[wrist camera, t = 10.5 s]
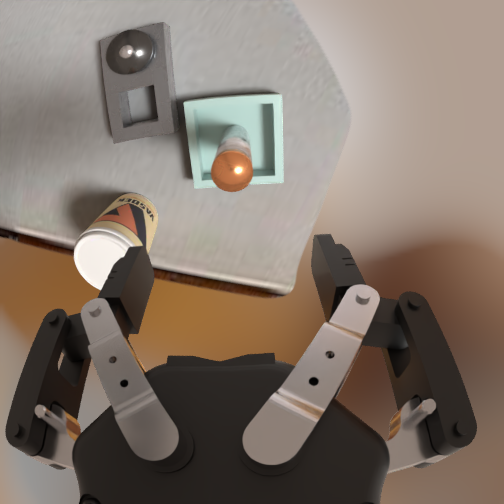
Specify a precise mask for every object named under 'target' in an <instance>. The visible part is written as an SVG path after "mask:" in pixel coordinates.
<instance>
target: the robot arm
mask: <svg viewBox="0 0 504 504" xmlns="http://www.w3.org/2000/svg"><path fill="white" fill-rule="evenodd" d="M311 267H312V274H313V277H314V280H315V284H316V287H317V291H318V294H319V297H320V301H321V304H322V308H323V311H324V314H325V318H326V322H325V323H324V324H323V325H322V327H321V329H320V330H319V332H318V333H317V335H316V337H315V338H314V339H313V341H312V343H311V344H310V346H309V347H308V349H307V350H306V352H305V353H304V355H303V356H302V358H301V359H300V360H299V362H298V363H297V365H296V366H293V365H291V364H288V363H286V362H282V361H276V360H275V355H274V353H264V354H248V355H244V356H240V357H236V358H232V359H228V360H224V361H213V360H209V359H204V358H200V357H195V356H168V358H167V363H166V364H162V365H159V366H157V367H154V368H152V369H151V370H149V371H147V372H146V370H145V368H144V367H143V365H142V363H141V362H140V360H139V358H138V356H137V354H136V353H135V351H134V349H133V347H132V345H131V343H130V342H129V340H128V337H129V334H138V333H139V329H140V326H141V322H142V319H143V315H144V312H145V309H146V305H147V302H148V299H149V295H150V292H151V289H152V286H153V283H154V271H153V268H152V265H151V262H150V259H149V256H148V252H147V249H146V247H145V246H131V247H129V248H128V250H127V252H126V254H125V256H124V257H121V258H120V259H119V260H118V261H117V262H116V263H115V264H114V265H113V267H112V269H111V271H110V273H109V275H108V277H107V279H106V281H105V283H104V285H103V287H102V289H101V291H100V293H99V296H98V298H96V299H93V300H91V301H89V302H87V303H86V304H85V305H84V307H83V308H82V310H81V313H78V314H74V315H70V316H67V314H66V312H65V311H64V310H63V309H55V310H52V311H51V312H49V313H48V314H47V315H46V316H45V318H44V319H43V322H42V324H41V326H40V328H39V330H38V333H37V335H36V338H35V340H34V342H33V344H32V347H31V349H30V352H29V354H28V357H27V360H26V362H25V365H24V368H23V371H22V373H21V377H20V379H19V382H18V385H17V388H16V391H15V395H14V398H13V401H12V405H11V409H10V412H9V416H8V420H7V424H6V438H7V440H8V442H9V443H10V444H11V445H12V446H13V447H15V448H17V449H19V450H20V451H22V452H24V453H25V454H26V455H28V456H30V457H32V458H33V459H35V460H37V461H39V462H41V463H43V464H46V465H49V466H52V467H54V468H56V469H65V468H69V469H73V470H75V473H76V476H77V480H78V484H79V490H80V502H79V504H380V498H381V492H382V487H383V484H384V481H385V478H386V475H387V473H391V472H395V471H398V470H402V469H405V468H408V467H411V466H414V467H417V468H424V467H427V466H429V465H431V464H433V463H435V462H437V461H440V460H442V459H444V458H445V457H447V456H449V455H451V454H453V453H455V452H456V451H458V450H460V449H462V448H464V447H465V446H467V445H469V444H470V443H471V442H472V440H473V439H474V437H475V435H476V431H477V424H476V420H475V416H474V413H473V410H472V407H471V404H470V401H469V398H468V395H467V392H466V389H465V386H464V383H463V381H462V378H461V375H460V373H459V370H458V368H457V365H456V363H455V361H454V358H453V356H452V353H451V351H450V348H449V346H448V344H447V342H446V339H445V337H444V335H443V333H442V331H441V328H440V326H439V324H438V322H437V320H436V318H435V316H434V314H433V312H432V310H431V308H430V306H429V304H428V302H427V300H426V299H425V298H424V297H423V296H421V295H420V294H418V293H415V292H405V293H403V294H401V295H400V297H399V299H398V300H394V299H386V298H382V297H379V294H378V293H377V291H375V290H374V289H373V288H371V287H370V286H367V285H366V284H365V281H364V279H363V277H362V275H361V273H360V271H359V269H358V267H357V265H356V263H355V261H354V259H353V257H352V255H351V253H350V251H349V250H348V249H347V248H346V247H345V246H343V245H342V244H335V243H334V240H333V238H332V236H331V234H320V235H314V239H313V251H312V261H311ZM362 345H365V346H373V347H381V349H382V352H383V356H384V359H385V362H386V366H387V370H388V373H389V377H390V380H391V384H392V388H393V392H394V396H395V400H396V404H397V408H398V412H397V413H396V414H395V415H394V416H393V417H392V419H391V421H390V426H389V427H390V434H389V437H388V439H387V441H386V442H385V441H384V439H383V438H382V437H381V436H380V435H379V434H378V433H377V432H376V431H374V430H373V429H372V428H371V427H369V426H368V425H367V424H366V423H364V422H363V421H362V420H361V419H360V418H358V417H357V416H356V415H354V414H353V413H352V412H351V411H349V410H348V409H347V408H346V407H345V406H344V405H342V404H341V403H340V402H339V401H338V400H336V397H337V395H338V393H339V391H340V389H341V388H342V386H343V384H344V382H345V380H346V378H347V376H348V374H349V372H350V370H351V367H352V366H353V364H354V362H355V360H356V358H357V356H358V354H359V352H360V349H361V347H362ZM61 352H62V353H63V354H64V357H63V360H62V363H61V366H60V369H59V370H58V361H59V358H60V355H61ZM91 358H92V360H93V363H94V366H95V368H96V370H97V373H98V376H99V378H100V381H101V383H102V385H103V388H104V390H105V392H106V394H107V397H108V399H109V401H110V403H111V406H110V407H109V408H107V409H106V410H105V411H104V412H103V413H102V414H101V415H100V416H99V417H98V418H97V419H96V420H95V421H94V422H93V423H91V424H90V426H88V427H87V428H86V429H85V430H84V431H83V432H82V433H81V428H80V424H79V423H78V421H77V418H78V413H79V408H80V403H81V399H82V394H83V390H84V386H85V381H86V377H87V373H88V370H89V366H90V362H91Z"/></svg>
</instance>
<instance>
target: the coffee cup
mask: <svg viewBox="0 0 504 504" xmlns="http://www.w3.org/2000/svg"><path fill="white" fill-rule="evenodd" d="M157 225H158V214H157V210H156V208H155V206H154V205H153V204H152V202H151V201H150V200H148V199H147V198H146V197H144V196H142V195H139V194H135V193H128V194H124V195H122V196H120V197H119V198H117V199H116V200H115V201H114V202H113V203H112V204H111V205H110V206H109V207H108V208H107V209H106V210H105V211H104V212H103V213H102V214H101V215H100V216H99V217H98V218H97V219H96V220H95V221H94V222H93V223H92V224H91V225H90V226H89V227H88V228H87V230H86V231H84V232H83V233H82V234H81V235H80V236H79V237H78V239H77V241H76V243H75V247H74V260H75V264H76V266H77V269H78V270H79V272H80V274H81V275H82V276H83V277H84V279H85V280H86V281H87V282H89V283H90V284H91V285H92V286H94V287H96V288H97V289H99V290H101V289H102V287H103V285H104V283H105V281H106V279H107V277H108V275H109V273H110V271H111V269H112V267H113V265H114V264H115V263H116V262H117V261H118V260H119V259H120V258H121V257H124V256H125V254H126V252H127V250H128V248H129V247H131V246H145V247H146V249H147V252H148V254H149V250H150V247H151V244H152V241H153V238H154V235H155V232H156V228H157Z"/></svg>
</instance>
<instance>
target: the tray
mask: <svg viewBox="0 0 504 504" xmlns="http://www.w3.org/2000/svg"><path fill="white" fill-rule="evenodd" d="M184 111H185V120H186V128H187V136H188V144H189V152H190V159H191V166H192V173H193V180H194V187H195V189H198V188H209V187H217V186H216V185H215V183H214V182H213V180H212V177H211V167H212V164H213V161H214V158H215V155H216V152H217V149H218V146H219V143H220V140H221V137H222V134H223V132H224V131H225V129H226V128H228V127H229V126H232V125H239V126H242V127H244V128H245V129H246V130H247V131H248V133H249V138H250V147H251V156H252V166H253V177H252V180H251V182H250V183H249V184H248V185H250V184H269V183H283V116H282V95H281V94H279V93H271V94H246V95H231V96H219V97H210V98H201V99H193V100H187V101H185V102H184Z"/></svg>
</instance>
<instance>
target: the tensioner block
mask: <svg viewBox="0 0 504 504" xmlns="http://www.w3.org/2000/svg"><path fill="white" fill-rule="evenodd" d="M100 47H101V59H102V69H103V78H104V86H105V94H106V101H107V107H108V113H109V119H110V125H111V131H112V136H113V141H114V143H119V142H124V141H129V140H134V139H139V138H144V137H150V136H156V135H162V134H168V133H174V132H176V131H177V130H178V129H179V128H180V127H179V119H178V111H177V103H176V94H175V84H174V74H173V63H172V51H171V38H170V26H169V25H167V24H166V23H164V22H161V23H157V24H153V25H149V26H145V27H141V28H137V29H133V30H127V31H124V32H122V33H120V34H117V35H114V36H111V37H108V38H105V39H102V40H100ZM151 85H154V89H155V97H156V105H157V113H158V119H153V120H147V121H142V122H137V123H132V120H131V114H130V107H129V100H128V92H127V91H129V90H133V89H137V88H142V87H146V86H151Z"/></svg>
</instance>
